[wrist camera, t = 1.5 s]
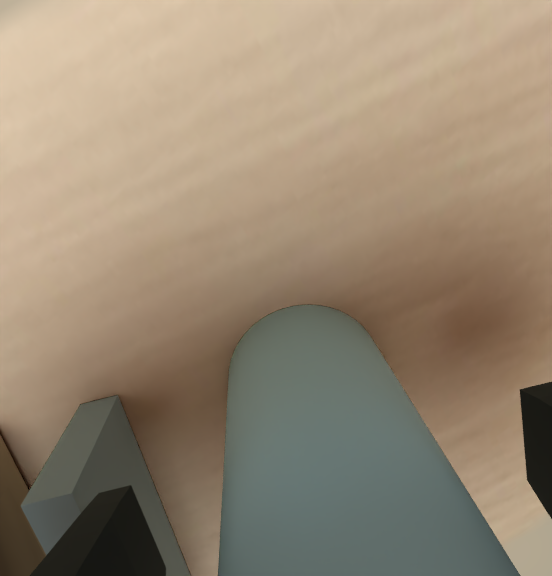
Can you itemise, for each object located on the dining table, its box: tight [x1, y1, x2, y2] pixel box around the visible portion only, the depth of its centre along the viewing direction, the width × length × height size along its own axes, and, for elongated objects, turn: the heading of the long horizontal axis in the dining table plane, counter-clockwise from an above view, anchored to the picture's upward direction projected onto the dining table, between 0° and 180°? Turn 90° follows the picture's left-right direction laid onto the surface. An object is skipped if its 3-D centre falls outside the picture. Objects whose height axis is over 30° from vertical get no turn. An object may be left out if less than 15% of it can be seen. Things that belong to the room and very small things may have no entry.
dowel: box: [218, 305, 520, 576], centre depth 8 cm, size 4×4×9 cm
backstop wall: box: [21, 395, 191, 576], centre depth 12 cm, size 1×8×4 cm, turn 14°
